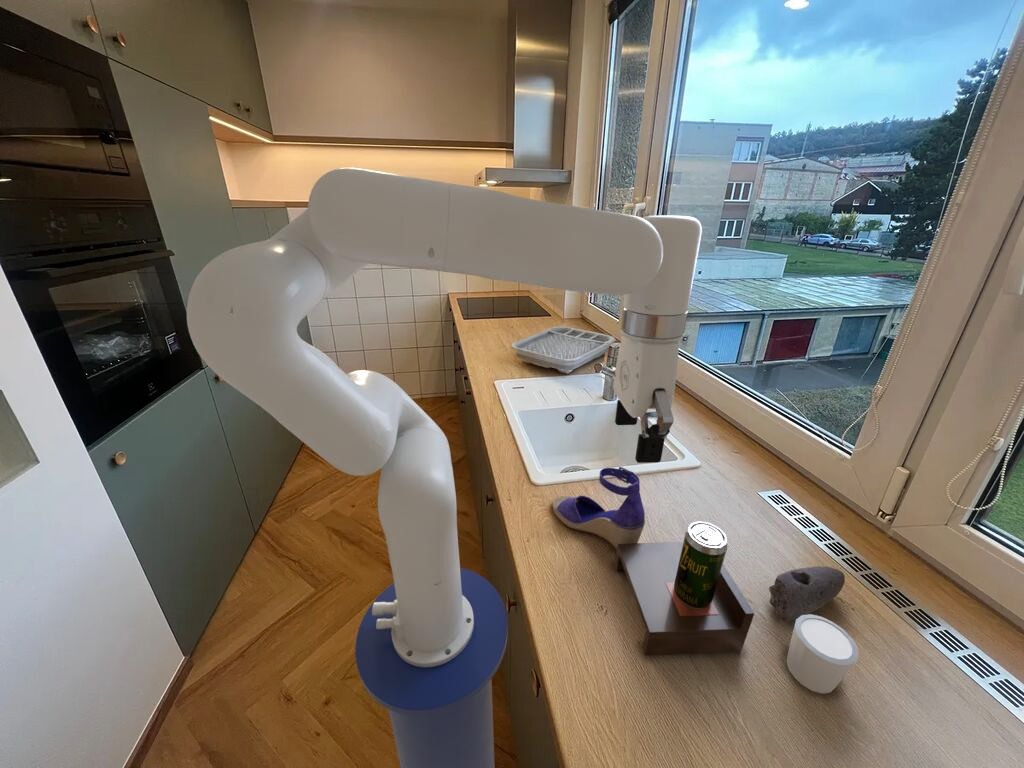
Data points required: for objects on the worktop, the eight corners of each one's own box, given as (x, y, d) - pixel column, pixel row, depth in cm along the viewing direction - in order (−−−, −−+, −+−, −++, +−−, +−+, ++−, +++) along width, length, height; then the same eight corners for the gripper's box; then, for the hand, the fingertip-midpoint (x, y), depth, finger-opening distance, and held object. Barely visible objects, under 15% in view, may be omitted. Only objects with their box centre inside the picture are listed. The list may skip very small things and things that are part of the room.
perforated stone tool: (821, 579, 70) (834, 548, 67) (852, 605, 65) (868, 573, 63) (752, 603, 66) (763, 571, 63) (781, 633, 61) (794, 600, 58)
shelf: (645, 656, 58) (652, 617, 55) (614, 564, 73) (619, 530, 70) (741, 651, 59) (754, 613, 55) (692, 562, 73) (700, 527, 70)
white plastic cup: (779, 638, 60) (792, 605, 58) (836, 660, 58) (853, 627, 55) (782, 682, 55) (797, 648, 52) (845, 709, 52) (865, 675, 49)
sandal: (574, 493, 91) (579, 435, 84) (646, 552, 75) (658, 486, 69) (545, 507, 86) (548, 447, 80) (614, 572, 71) (624, 504, 65)
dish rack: (504, 362, 166) (504, 343, 162) (556, 340, 191) (557, 324, 188) (570, 382, 147) (572, 361, 144) (618, 355, 172) (620, 337, 169)
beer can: (685, 574, 65) (699, 515, 60) (718, 597, 61) (736, 536, 56) (665, 593, 62) (678, 532, 57) (699, 618, 58) (716, 555, 53)
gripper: (605, 307, 58) (595, 413, 65) (646, 345, 43) (627, 480, 50) (657, 306, 59) (641, 412, 66) (717, 344, 43) (688, 478, 50)
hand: (635, 441), depth 58 cm, fingers open, 9 cm apart
